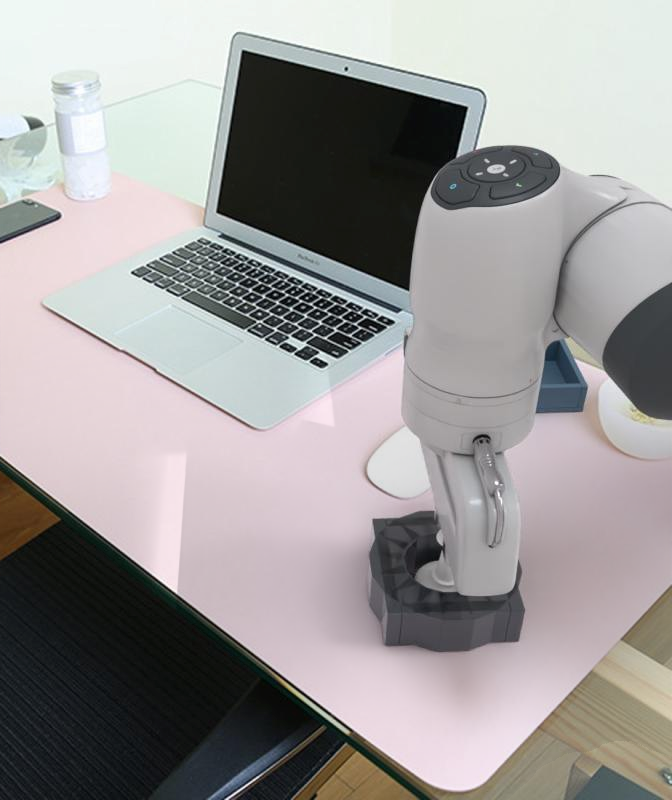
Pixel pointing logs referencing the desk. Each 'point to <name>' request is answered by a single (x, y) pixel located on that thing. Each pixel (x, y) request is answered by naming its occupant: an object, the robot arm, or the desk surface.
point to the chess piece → (437, 573)
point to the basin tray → (561, 381)
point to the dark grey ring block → (431, 593)
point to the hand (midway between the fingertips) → (450, 542)
